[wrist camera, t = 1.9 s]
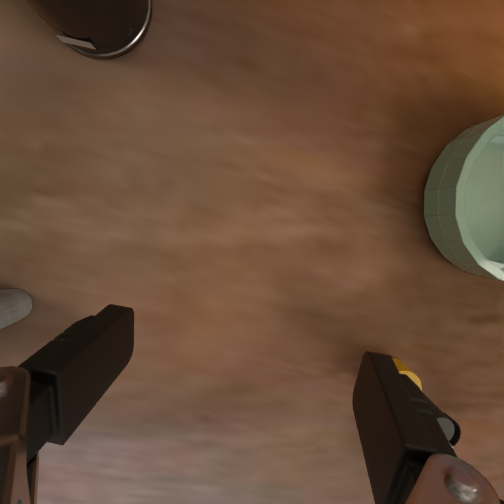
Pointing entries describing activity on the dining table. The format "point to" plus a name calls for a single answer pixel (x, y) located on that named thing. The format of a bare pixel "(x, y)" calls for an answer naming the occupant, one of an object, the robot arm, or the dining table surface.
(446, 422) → the black peg yellow base
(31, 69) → the dining table surface
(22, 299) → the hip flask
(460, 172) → the bowl
